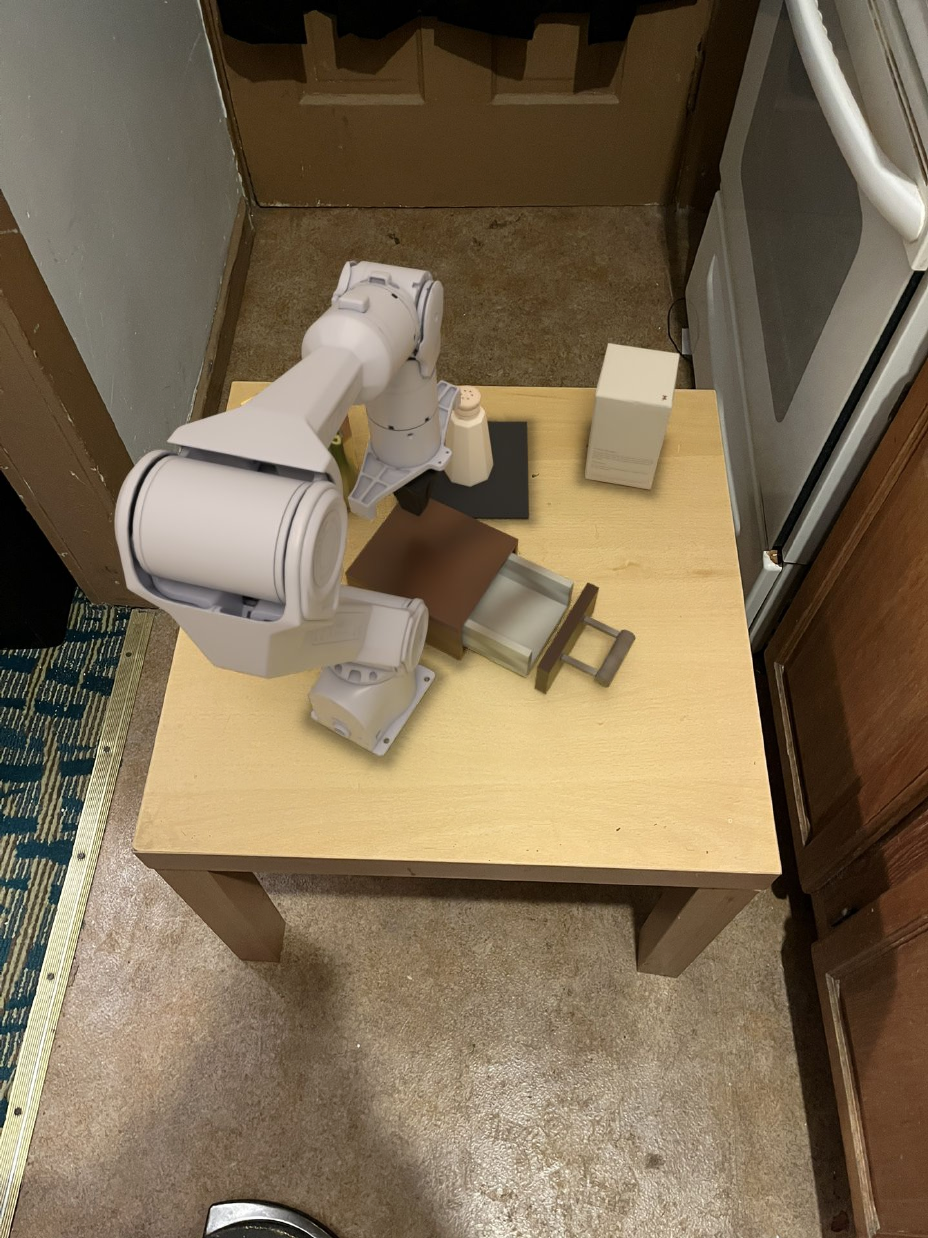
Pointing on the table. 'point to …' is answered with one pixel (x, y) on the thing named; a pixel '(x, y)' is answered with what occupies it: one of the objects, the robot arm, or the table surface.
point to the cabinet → (434, 566)
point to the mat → (493, 479)
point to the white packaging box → (630, 415)
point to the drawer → (538, 624)
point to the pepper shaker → (469, 441)
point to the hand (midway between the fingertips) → (414, 507)
